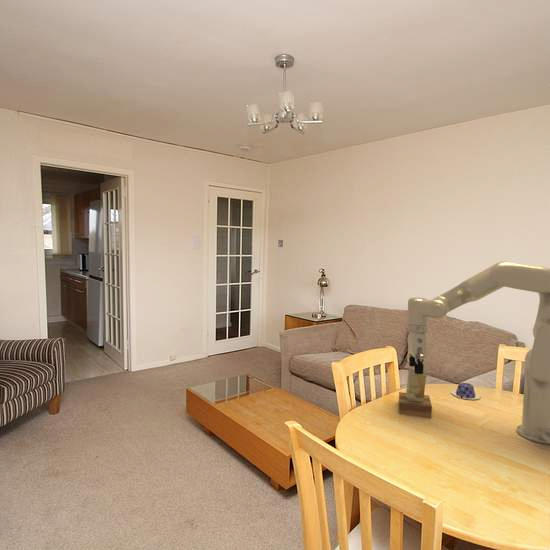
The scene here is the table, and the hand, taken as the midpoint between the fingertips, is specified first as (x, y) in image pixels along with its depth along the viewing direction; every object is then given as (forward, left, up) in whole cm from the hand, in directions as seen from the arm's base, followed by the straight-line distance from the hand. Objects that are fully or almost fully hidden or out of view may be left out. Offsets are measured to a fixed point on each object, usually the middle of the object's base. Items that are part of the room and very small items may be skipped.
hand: (416, 369), depth 153 cm
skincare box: (0, 0, -12) cm, 12 cm away
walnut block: (0, 0, -17) cm, 17 cm away
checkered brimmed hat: (+21, -27, -17) cm, 38 cm away
